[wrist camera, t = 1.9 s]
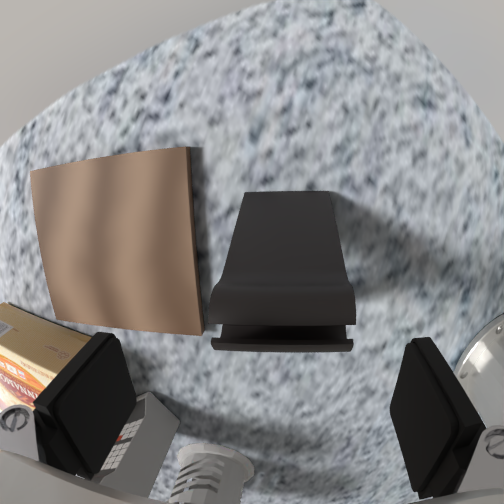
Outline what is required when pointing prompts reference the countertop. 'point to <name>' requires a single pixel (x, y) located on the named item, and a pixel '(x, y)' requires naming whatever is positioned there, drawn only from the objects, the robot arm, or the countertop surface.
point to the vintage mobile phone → (139, 448)
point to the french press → (211, 475)
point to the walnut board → (121, 241)
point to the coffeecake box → (31, 354)
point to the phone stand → (284, 278)
